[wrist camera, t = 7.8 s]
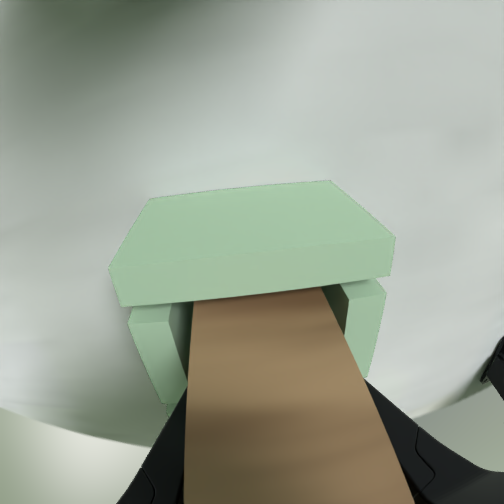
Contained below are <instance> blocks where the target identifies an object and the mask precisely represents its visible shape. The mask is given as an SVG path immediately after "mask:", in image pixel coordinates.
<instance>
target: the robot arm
mask: <svg viewBox="0 0 504 504" xmlns="http://www.w3.org/2000/svg"><path fill="white" fill-rule="evenodd" d="M363 379H364V378H363ZM364 381H365V383H366V385H367V388H368V390H369V392H370V395H371V397H372V399H373V401H374V404H375V406H376V408H377V411H378V413H379V415H380V418H381V420H382V422H383V425H384V427H385V430H386V432H387V434H388V437H389V439H390V442H391V444H392V446H393V449H394V451H395V454H396V456H397V459H398V461H399V464H400V466H401V469H402V471H403V474H404V477H405V479H406V482H407V484H408V487H409V489H410V492H411V495H412V497H413V500H414V503H415V504H504V472H494V471H489V470H485V469H483V468H480V467H478V466H476V465H474V464H473V463H471V462H470V461H468V460H466V459H465V458H463V457H461V456H460V455H458V454H457V453H455V452H454V451H452V450H450V449H449V448H447V447H446V446H444V445H443V444H442V443H440V442H439V441H437V440H436V439H434V437H432V436H431V435H430V434H428V433H427V432H426V431H425V430H424V429H422V428H421V427H418V424H416V423H415V422H414V421H413V420H412V419H411V418H409V417H408V416H407V415H406V414H405V413H403V412H402V411H401V410H400V409H399V408H398V407H396V406H395V405H394V404H393V403H392V402H391V401H389V400H388V399H387V398H386V397H385V396H384V395H382V394H381V393H380V392H379V391H378V390H377V389H375V388H374V387H373V386H372V385H371V384H370V383H368V382H367V381H366V380H365V379H364ZM488 381H491V383H492V384H493V386H494V387H495V388H496V390H497V391H498V393H499V394H500V396H501V397H502V398H503V400H504V338H503V339H502V341H501V343H500V345H499V347H498V349H497V351H496V353H495V355H494V356H493V358H492V360H491V362H490V364H489V366H488V368H487V369H486V371H485V373H484V375H483V376H482V378H481V380H480V382H481V383H482V384H484V383H486V382H488ZM187 387H188V385H187ZM187 387H186V389H185V391H184V392H183V394H182V396H181V398H180V400H179V401H178V403H177V405H176V407H175V408H174V410H173V412H172V414H171V415H170V417H169V419H168V421H167V422H166V424H165V426H164V427H163V429H162V431H161V433H160V434H159V436H158V438H157V440H156V441H155V443H154V445H153V447H152V448H151V450H150V452H149V454H148V455H147V457H146V459H145V461H144V462H143V464H142V466H141V467H142V468H140V469H139V471H138V473H137V474H136V476H135V478H134V479H133V481H132V482H131V484H130V485H129V487H128V489H127V490H126V492H125V493H124V494H123V495H122V497H121V498H120V500H119V501H118V502H117V503H116V504H184V457H185V427H186V405H187Z"/></svg>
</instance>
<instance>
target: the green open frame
mask: <svg viewBox="0 0 504 504" xmlns="http://www.w3.org/2000/svg"><path fill="white" fill-rule="evenodd" d="M395 239H396V237H395V236H394V235H393V234H392V233H391V232H390V231H389V230H388V229H387V228H385V227H384V226H383V225H382V224H381V223H380V222H379V221H378V220H377V219H375V218H374V217H373V216H372V215H371V214H370V213H369V212H367V211H366V210H365V209H364V208H363V207H362V206H360V205H359V204H358V203H357V202H356V201H355V200H353V199H352V198H351V197H350V196H349V195H347V194H346V193H345V192H344V191H343V190H341V189H340V188H339V187H338V186H337V185H335V184H334V183H333V182H332V181H315V182H301V183H287V184H275V185H264V186H253V187H243V188H233V189H223V190H214V191H206V192H197V193H189V194H182V195H174V196H167V197H159V198H152V199H149V201H148V202H147V204H146V205H145V207H144V209H143V210H142V212H141V213H140V215H139V217H138V218H137V220H136V221H135V223H134V225H133V226H132V228H131V230H130V231H129V233H128V235H127V236H126V238H125V240H124V241H123V243H122V245H121V247H120V248H119V250H118V252H117V253H116V255H115V257H114V259H113V261H112V262H111V264H110V266H109V268H108V270H109V273H110V276H111V279H112V282H113V285H114V288H115V291H116V294H117V297H118V300H119V302H120V305H121V307H128V306H133V309H132V312H131V315H130V318H129V321H128V327H129V329H130V332H131V335H132V337H133V340H134V342H135V345H136V347H137V349H138V352H139V354H140V357H141V359H142V361H143V364H144V366H145V368H146V371H147V373H148V375H149V377H150V380H151V382H152V384H153V386H154V388H155V390H156V393H157V395H158V397H159V399H160V401H161V403H162V404H167V410H166V413H167V415H168V417H170V415H171V414H172V412H173V410H174V408H175V407H176V405H177V403H178V401H179V400H180V398H181V396H182V394H183V392H184V391H185V389H186V387H187V385H188V371H189V356H190V343H191V331H192V319H193V307H194V301H197V300H207V299H217V298H227V297H236V296H245V295H254V294H262V293H271V292H279V291H287V290H295V289H302V288H310V287H317V286H320V287H321V289H322V291H323V293H324V295H325V297H326V299H327V301H328V303H329V305H330V308H331V310H332V312H333V314H334V316H335V318H336V320H337V322H338V324H339V326H340V329H341V331H342V333H343V335H344V337H345V339H346V341H347V344H348V346H349V348H350V350H351V352H352V354H353V357H354V359H355V361H356V363H357V365H358V368H359V370H360V372H361V374H362V376H363V378H366V377H367V376H368V372H369V368H370V365H371V361H372V357H373V353H374V349H375V345H376V341H377V337H378V332H379V328H380V324H381V319H382V314H383V310H384V305H385V300H386V294H387V293H386V292H385V290H384V289H383V288H382V286H381V285H380V284H379V282H378V281H377V280H376V278H379V277H385V276H390V272H391V266H392V260H393V253H394V246H395Z"/></svg>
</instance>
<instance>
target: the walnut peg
mask: <svg viewBox="0 0 504 504" xmlns="http://www.w3.org/2000/svg"><path fill="white" fill-rule="evenodd" d="M184 504H415V503H414V500H413V497H412V495H411V492H410V489H409V487H408V484H407V482H406V479H405V477H404V474H403V471H402V469H401V466H400V464H399V461H398V459H397V456H396V454H395V451H394V449H393V446H392V444H391V442H390V439H389V437H388V434H387V432H386V430H385V427H384V425H383V422H382V420H381V418H380V415H379V413H378V411H377V408H376V406H375V404H374V401H373V399H372V397H371V395H370V392H369V390H368V388H367V385H366V383H365V381H364V379H363V376H362V374H361V372H360V370H359V368H358V365H357V363H356V361H355V359H354V357H353V354H352V352H351V350H350V348H349V346H348V344H347V341H346V339H345V337H344V335H343V333H342V331H341V329H340V326H339V324H338V322H337V320H336V318H335V316H334V314H333V312H332V310H331V308H330V305H329V303H328V301H327V299H326V297H325V295H324V293H323V291H322V289H321V287H320V286H317V287H310V288H302V289H295V290H287V291H279V292H271V293H262V294H254V295H245V296H236V297H227V298H217V299H207V300H197V301H194V307H193V319H192V331H191V343H190V356H189V371H188V387H187V405H186V427H185V457H184Z"/></svg>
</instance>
